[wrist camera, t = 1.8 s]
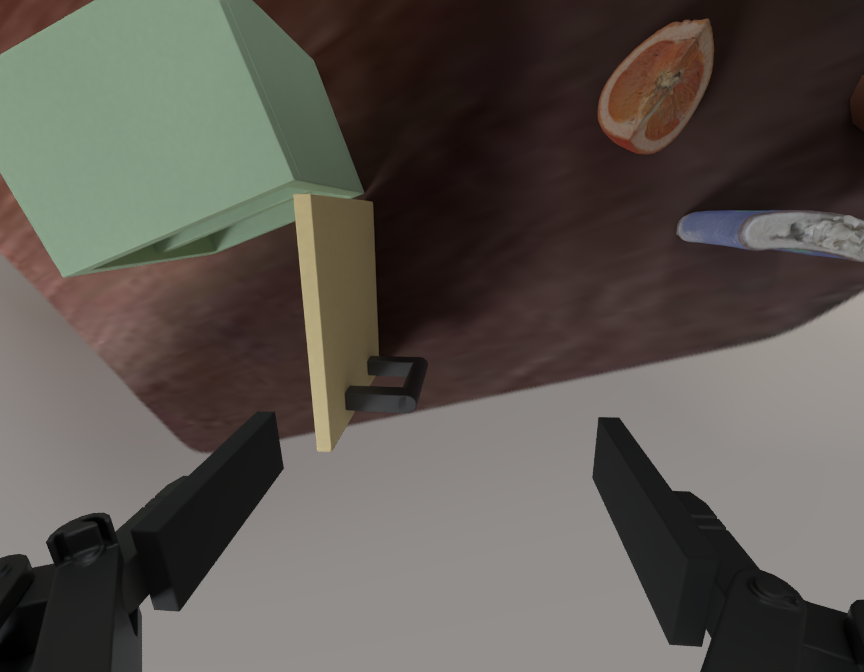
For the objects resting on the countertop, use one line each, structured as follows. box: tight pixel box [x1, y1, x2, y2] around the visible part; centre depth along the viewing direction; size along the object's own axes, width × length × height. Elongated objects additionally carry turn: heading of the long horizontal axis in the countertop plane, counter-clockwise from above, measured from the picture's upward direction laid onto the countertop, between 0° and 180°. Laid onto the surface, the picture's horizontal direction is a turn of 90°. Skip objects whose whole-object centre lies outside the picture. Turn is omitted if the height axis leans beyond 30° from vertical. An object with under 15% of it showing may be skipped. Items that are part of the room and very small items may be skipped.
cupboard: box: [0, 0, 364, 277], centre depth 29 cm, size 11×16×15 cm
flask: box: [676, 210, 864, 262], centre depth 29 cm, size 9×3×11 cm, turn 84°
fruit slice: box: [598, 19, 714, 154], centre depth 29 cm, size 8×7×5 cm
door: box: [293, 194, 428, 452], centre depth 31 cm, size 6×16×15 cm, turn 0°
